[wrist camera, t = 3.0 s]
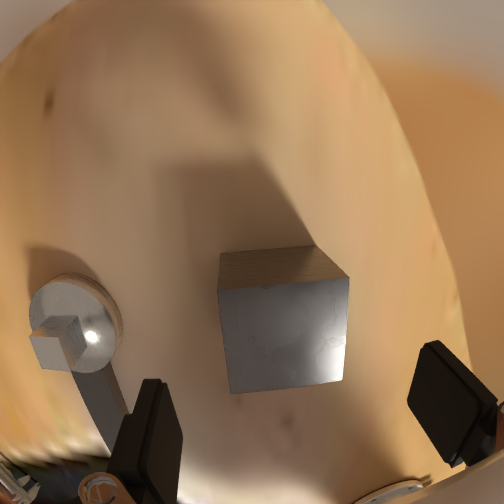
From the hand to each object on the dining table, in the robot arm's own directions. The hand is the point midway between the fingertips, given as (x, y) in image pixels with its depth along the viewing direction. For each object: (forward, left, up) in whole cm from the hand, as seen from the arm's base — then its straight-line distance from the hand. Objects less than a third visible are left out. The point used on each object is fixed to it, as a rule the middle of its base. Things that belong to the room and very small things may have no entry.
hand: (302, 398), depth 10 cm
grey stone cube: (0, 0, -11) cm, 11 cm away
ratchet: (+14, +8, -11) cm, 19 cm away
